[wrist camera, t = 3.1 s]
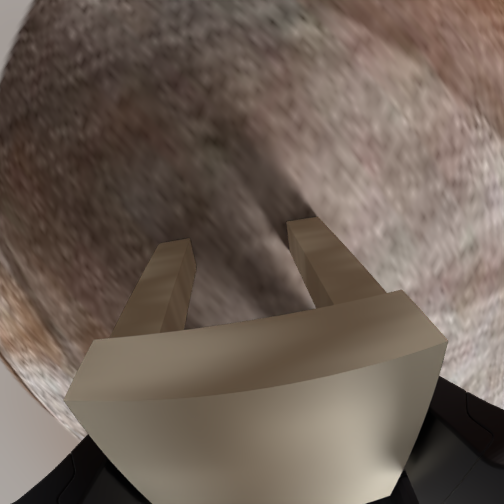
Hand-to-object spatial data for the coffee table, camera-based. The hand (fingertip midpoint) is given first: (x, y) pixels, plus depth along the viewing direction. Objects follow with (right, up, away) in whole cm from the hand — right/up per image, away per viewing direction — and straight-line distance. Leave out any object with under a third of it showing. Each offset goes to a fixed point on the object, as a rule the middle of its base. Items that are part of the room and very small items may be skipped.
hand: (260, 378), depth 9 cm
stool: (0, +2, +4) cm, 4 cm away
